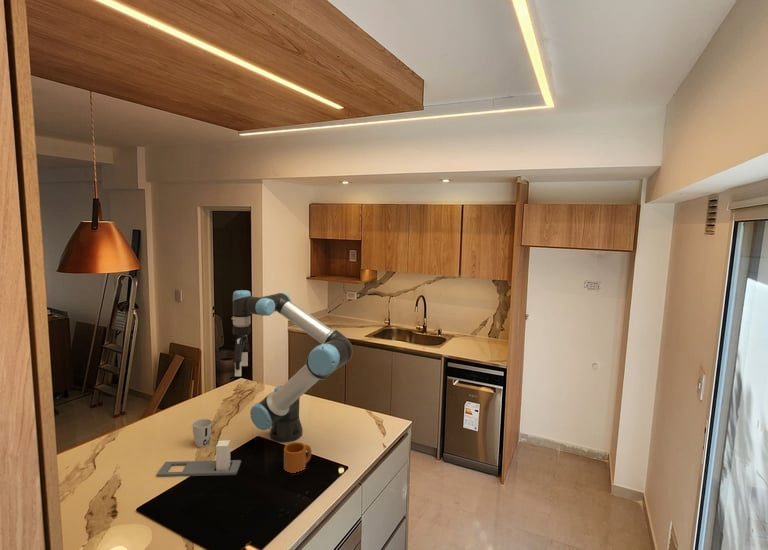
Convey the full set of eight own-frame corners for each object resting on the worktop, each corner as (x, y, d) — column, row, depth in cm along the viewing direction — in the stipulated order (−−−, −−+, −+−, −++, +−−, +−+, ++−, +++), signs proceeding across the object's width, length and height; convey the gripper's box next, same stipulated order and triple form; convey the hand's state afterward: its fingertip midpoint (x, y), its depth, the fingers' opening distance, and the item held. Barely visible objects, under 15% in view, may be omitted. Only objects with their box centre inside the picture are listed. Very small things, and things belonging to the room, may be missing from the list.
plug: (230, 465, 176) (230, 440, 175) (227, 471, 172) (227, 445, 171) (217, 465, 176) (217, 440, 174) (214, 472, 171) (214, 446, 170)
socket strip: (241, 462, 179) (241, 460, 179) (236, 474, 170) (236, 472, 170) (165, 464, 176) (165, 461, 175) (156, 476, 167) (156, 474, 167)
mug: (316, 469, 177) (316, 448, 175) (287, 476, 171) (287, 455, 169) (308, 458, 184) (309, 438, 183) (281, 465, 178) (281, 444, 177)
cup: (205, 450, 187) (205, 428, 186) (188, 447, 189) (188, 426, 188) (215, 441, 195) (215, 420, 194) (200, 438, 197) (199, 417, 196)
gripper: (239, 318, 203) (239, 361, 206) (225, 331, 179) (225, 380, 181) (255, 318, 204) (255, 361, 207) (244, 332, 180) (244, 380, 182)
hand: (241, 370), depth 194 cm, fingers open, 13 cm apart
